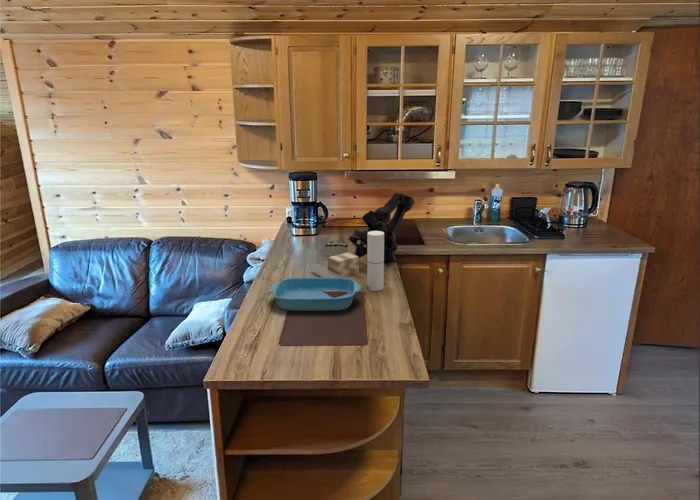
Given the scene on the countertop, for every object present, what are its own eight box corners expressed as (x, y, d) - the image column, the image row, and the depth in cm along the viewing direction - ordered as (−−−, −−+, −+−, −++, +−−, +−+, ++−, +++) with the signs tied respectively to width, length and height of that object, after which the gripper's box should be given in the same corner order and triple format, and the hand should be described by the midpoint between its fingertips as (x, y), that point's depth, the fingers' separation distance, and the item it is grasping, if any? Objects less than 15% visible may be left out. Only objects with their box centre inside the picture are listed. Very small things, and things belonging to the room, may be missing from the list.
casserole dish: (265, 314, 183) (264, 297, 181) (276, 291, 204) (275, 276, 202) (360, 314, 182) (360, 297, 180) (360, 292, 203) (360, 276, 201)
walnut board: (360, 262, 238) (360, 260, 237) (385, 274, 222) (385, 271, 222) (310, 275, 222) (310, 272, 221) (334, 288, 206) (334, 285, 206)
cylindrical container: (364, 289, 205) (364, 234, 197) (371, 283, 211) (371, 230, 203) (379, 291, 202) (380, 236, 194) (386, 286, 208) (386, 232, 200)
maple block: (349, 267, 226) (348, 252, 224) (358, 272, 220) (358, 256, 218) (328, 273, 220) (327, 257, 217) (337, 278, 214) (337, 261, 211)
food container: (350, 258, 244) (349, 240, 241) (348, 262, 238) (348, 243, 235) (326, 258, 245) (326, 239, 242) (324, 262, 239) (324, 243, 236)
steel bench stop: (316, 271, 223) (315, 263, 222) (340, 283, 207) (339, 275, 206) (311, 272, 221) (311, 264, 220) (335, 285, 206) (335, 276, 205)
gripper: (351, 219, 227) (333, 245, 224) (376, 227, 212) (356, 255, 209) (364, 232, 233) (346, 257, 231) (389, 241, 219) (370, 268, 216)
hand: (354, 259), depth 222 cm, fingers closed, pressing on maple block
